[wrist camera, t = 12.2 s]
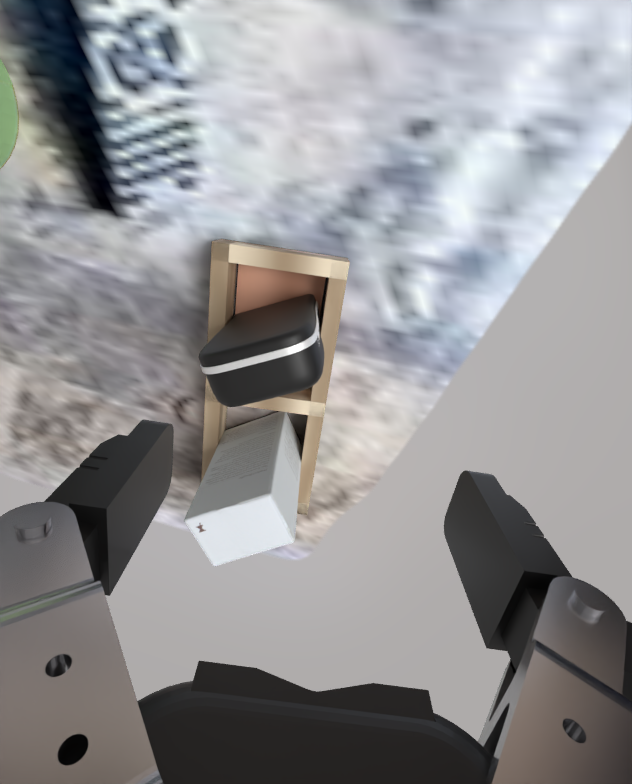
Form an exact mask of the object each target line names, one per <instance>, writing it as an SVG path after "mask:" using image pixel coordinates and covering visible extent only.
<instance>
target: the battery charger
mask: <svg viewBox="0 0 632 784" xmlns="http://www.w3.org/2000/svg"><path fill="white" fill-rule="evenodd" d="M319 327H320V314H319V310H318V302H317V301H316V300H315V297H314V295H313V294H307V295H303V296H299V297H296V298H292V299H289V300H285V301H281V302H278V303H274V304H271V305H267V306H263V307H260V308H256V309H253V310H249V311H246V312H242V313H239V314H236V315H234V317H233V318H232V319H231V320H230V321H229V322H228V324H227V325H225V326H224V327H223V328H222V329H221V330H220V331H219V332H218V333H217V334H216V335H215V336H214V337H213V338H212V339H211V340H210V341H209V343H208V344H207V345H206V346H205V347H204V348H203V350H202V351H201V352H200V354H199V359H200V362H201V364H200V367H201V369H202V372H203V373H204V374H206V377H207V379H208V382H209V384H210V387H211V389H212V392H213V394H214V395H215V397H216V399H217V401H218V402H220V403H221V404H222V405H225V406H228V407H237V406H243V405H247V404H251V403H255V402H259V401H263V400H268V399H272V398H276V397H279V396H283V395H287V394H291V393H295V392H299V391H302V390H305V389H308V388H310V387H312V386H313V385H315V384H316V383H317V382H318V381H319V379H320V378H321V376H322V372H323V366H324V347H323V342H322V339H321V335H320V329H319Z"/></svg>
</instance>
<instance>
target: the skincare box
mask: <svg viewBox="0 0 632 784" xmlns="http://www.w3.org/2000/svg"><path fill="white" fill-rule="evenodd" d="M301 459H302V445H301V443H300V441H299V439H298V436H297V434H296V432H295V430H294V427H293V425H292V423H291V421H290V418H289V416H288V414H287V412H282V411H280V412H277V413H274V414H271V415H268V416H265V417H262V418H260V419H257V420H254V421H251V422H248V423H245V424H242V425H240V426H237V427H234V428H231V429H228V430H225V431H224V433H223V435H222V438H221V440H220V442H219V444H218V446H217V448H216V451H215V453H214V455H213V457H212V460H211V462H210V464H209V466H208V468H207V471H206V473H205V475H204V477H203V479H202V482H201V484H200V486H199V488H198V490H197V493H196V495H195V497H194V499H193V501H192V504H191V506H190V508H189V510H188V512H187V515H186V517H185V519H184V522H185V524H186V525H187V527H188V528H189V530H190V531H191V533H192V534H193V536H194V537H195V539H196V540H197V542H198V543H199V545H200V546H201V548H202V550H203V551H204V553H205V554H206V556H207V558H208V559H209V560H210V562H211V563H212V565H213V566H218V565H221V564H224V563H227V562H231V561H234V560H237V559H241V558H244V557H247V556H251V555H254V554H257V553H260V552H264V551H267V550H270V549H274V548H277V547H280V546H283V545H287V544H291V543H294V541H295V532H296V519H297V507H298V495H299V483H300V471H301Z"/></svg>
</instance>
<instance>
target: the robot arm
mask: <svg viewBox="0 0 632 784" xmlns="http://www.w3.org/2000/svg"><path fill="white" fill-rule="evenodd" d="M172 459H173V426H172V424H168V423H162V422H155V421H149V420H142V421H141V422H140V423H139V424H138V425H137V426H136V427H135V429H134V430H133V431H132V432H131V433H130V434H129V435H128V436H124V435H117V436H115V437H113V438H111V439H109V440H107V441H105V442H103V443H101V444H100V445H99V446H98V447H97V448H96V449H95V450H94V451H93V452H92V453H91V454H90V455H89V458H86V459H85V460H84V461H83V462H82V463H81V464H80V467H79V468H76V470H75V471H74V472H73V473H72V474H71V475H70V476H69V477H68V478H67V479H66V480H65V481H64V482H63V483H62V484H61V485H60V486H59V487H58V488H57V489H56V490H55V491H54V492H53V493H52V495H50V497H48V498H47V499H46V500H45V501H44V502H36V503H31V504H27V505H23V506H20V507H18V508H15V509H13V510H11V511H9V512H7V513H5V514H3V515H2V516H1V517H0V784H632V623H630V622H628V621H626V619H625V616H624V615H623V613H622V611H621V610H620V609H619V607H618V606H617V605H616V604H615V602H613V601H612V600H611V599H610V598H609V597H608V596H607V595H605V594H604V593H603V592H602V591H600V590H599V589H597V588H596V587H594V586H592V585H591V584H588V583H586V582H584V581H582V580H579V579H576V578H573V577H572V576H571V574H570V573H569V571H568V570H567V568H566V567H565V566H564V564H563V563H562V561H561V560H560V558H559V557H558V555H557V554H556V552H555V551H554V549H553V548H552V547H551V545H550V543H549V542H548V541H547V539H546V538H544V535H543V533H542V532H541V530H540V529H539V527H538V526H536V523H535V522H534V520H533V519H532V517H531V516H530V514H529V513H528V511H527V510H526V509H525V508H524V507H523V506H522V505H520V503H518V502H517V501H516V500H515V499H514V498H513V497H511V496H510V495H506V493H505V492H504V490H503V489H502V487H501V486H500V484H499V483H498V481H497V479H496V478H495V477H494V476H493V475H490V474H484V473H478V472H471V471H463V472H462V474H461V475H460V477H459V479H458V482H457V485H456V488H455V491H454V493H453V496H452V499H451V502H450V504H449V507H448V510H447V513H446V516H445V521H444V533H445V538H446V540H447V543H448V546H449V549H450V551H451V554H452V556H453V559H454V562H455V565H456V567H457V570H458V573H459V576H460V578H461V581H462V583H463V586H464V589H465V592H466V594H467V597H468V600H469V602H470V605H471V608H472V610H473V613H474V616H475V618H476V621H477V624H478V626H479V629H480V632H481V634H482V637H483V640H484V643H485V645H486V648H489V649H496V650H504V651H508V653H509V656H510V658H511V659H510V661H509V663H508V665H507V667H506V669H505V671H504V674H503V677H502V679H501V682H500V685H499V687H498V690H497V693H496V696H495V698H494V701H493V704H492V706H491V709H490V712H489V714H488V717H487V720H486V722H485V725H484V728H483V730H482V733H481V735H480V738H479V740H478V742H477V741H476V740H475V739H474V738H473V737H471V736H470V735H469V734H468V733H467V732H465V731H464V730H462V729H461V728H459V727H458V726H457V725H455V724H454V723H452V722H450V721H448V720H447V719H445V718H443V717H441V716H440V715H437V714H435V713H433V710H432V705H431V701H430V696H429V691H428V690H422V689H413V688H406V687H398V686H391V685H383V684H375V683H372V684H365V685H359V686H352V687H346V688H340V689H333V690H327V691H321V692H316V691H311V690H308V689H305V688H303V687H300V686H298V685H296V684H293V683H291V682H289V681H286V680H284V679H281V678H279V677H277V676H274V675H271V674H269V673H267V672H265V671H262V670H260V669H257V668H251V667H243V666H236V665H228V664H220V663H213V662H204V661H199V662H198V666H197V669H196V673H195V676H194V680H193V681H190V682H184V683H180V684H176V685H173V686H169V687H166V688H164V689H161V690H159V691H156V692H154V693H152V694H150V695H148V696H146V697H144V698H143V699H141V700H139V701H137V699H136V696H135V692H134V689H133V686H132V682H131V680H130V676H129V673H128V669H127V666H126V663H125V659H124V656H123V653H122V650H121V646H120V643H119V640H118V636H117V633H116V630H115V626H114V623H113V620H112V616H111V613H110V610H109V607H108V603H107V600H106V597H105V595H110V594H111V593H112V591H113V589H114V587H115V585H116V584H117V582H118V580H119V578H120V577H121V575H122V573H123V571H124V569H125V568H126V566H127V564H128V562H129V560H130V559H131V557H132V555H133V553H134V552H135V550H136V548H137V546H138V544H139V543H140V541H141V539H142V537H143V536H144V534H145V532H146V530H147V529H148V527H149V525H150V523H151V521H152V520H153V518H154V516H155V514H156V513H157V511H158V509H159V507H160V505H161V504H162V502H163V500H164V498H165V496H166V494H167V492H168V489H169V486H170V482H171V477H172Z"/></svg>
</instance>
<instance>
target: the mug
mask: <svg viewBox="0 0 632 784" xmlns="http://www.w3.org/2000/svg"><path fill="white" fill-rule="evenodd" d="M18 124H19V115H18V106H17V100H16V96H15V92H14V88H13V85H12V82H11V80H10V77H9V75H8V73H7V70H6V68H5V66H4V65H3V63H2V61H1V59H0V169H1V168H2V167H3V166H4V164H5V163H6V162H7V160H8V159H9V158H10V156H11V154H12V151H13V149H14V147H15V144H16V139H17V135H18Z"/></svg>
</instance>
